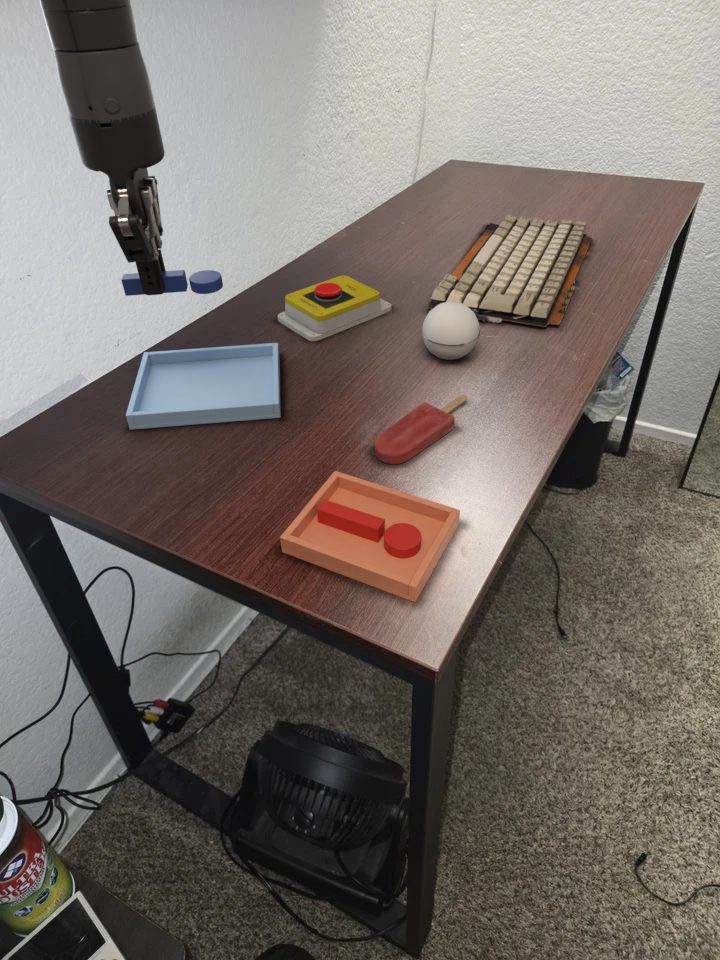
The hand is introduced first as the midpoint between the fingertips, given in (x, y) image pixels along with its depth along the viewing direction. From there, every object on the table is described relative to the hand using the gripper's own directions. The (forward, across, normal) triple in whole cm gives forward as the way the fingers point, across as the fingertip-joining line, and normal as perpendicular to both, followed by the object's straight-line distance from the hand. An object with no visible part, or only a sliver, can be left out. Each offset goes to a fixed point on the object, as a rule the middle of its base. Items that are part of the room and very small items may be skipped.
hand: (156, 288), depth 70 cm
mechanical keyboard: (+15, -31, +50) cm, 61 cm away
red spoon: (+14, +25, +20) cm, 35 cm away
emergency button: (+15, -21, +20) cm, 32 cm away
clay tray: (+15, +25, +20) cm, 35 cm away
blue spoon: (0, 0, +2) cm, 2 cm away
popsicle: (+15, +9, +28) cm, 33 cm away
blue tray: (+15, -3, +3) cm, 15 cm away
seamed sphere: (+15, -6, +35) cm, 38 cm away
